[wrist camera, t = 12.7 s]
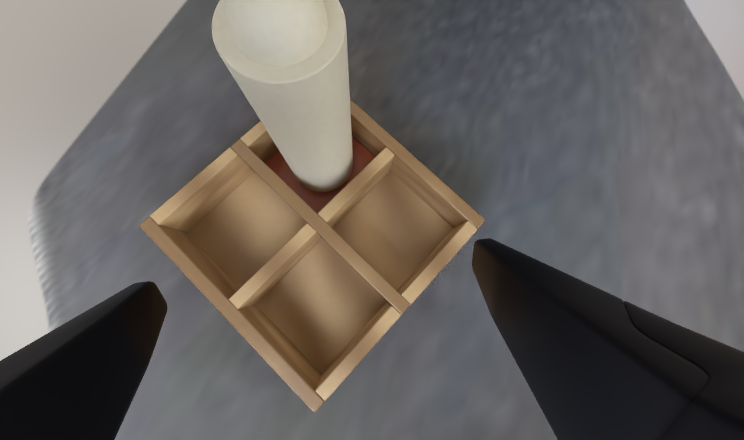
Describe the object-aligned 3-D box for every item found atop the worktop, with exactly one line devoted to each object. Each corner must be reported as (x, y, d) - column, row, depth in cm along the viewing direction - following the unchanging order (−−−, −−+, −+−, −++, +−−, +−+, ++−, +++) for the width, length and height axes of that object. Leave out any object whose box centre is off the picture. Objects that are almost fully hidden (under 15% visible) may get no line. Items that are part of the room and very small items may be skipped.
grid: (322, 390, 19) (314, 414, 16) (173, 233, 21) (137, 225, 17) (466, 228, 22) (486, 220, 18) (324, 100, 23) (318, 70, 20)
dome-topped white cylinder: (341, 200, 21) (310, 64, 8) (283, 181, 21) (152, 12, 8) (361, 146, 22) (364, -61, 8) (305, 128, 22) (222, -106, 9)
